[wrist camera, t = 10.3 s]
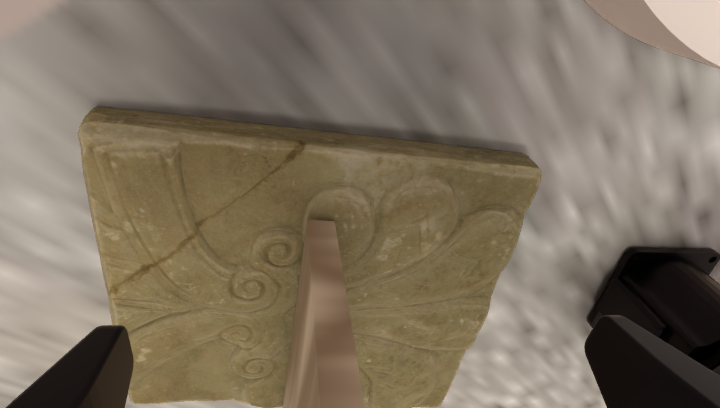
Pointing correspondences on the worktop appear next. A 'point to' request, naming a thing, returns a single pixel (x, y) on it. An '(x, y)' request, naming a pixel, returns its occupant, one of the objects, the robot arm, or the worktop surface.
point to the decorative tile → (293, 249)
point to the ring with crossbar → (668, 25)
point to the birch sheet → (322, 329)
